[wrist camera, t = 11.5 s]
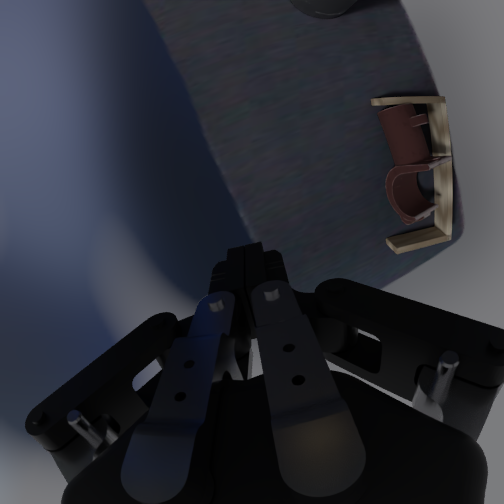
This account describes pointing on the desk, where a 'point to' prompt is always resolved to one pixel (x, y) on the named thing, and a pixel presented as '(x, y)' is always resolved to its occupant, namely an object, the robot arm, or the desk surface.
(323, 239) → the desk surface
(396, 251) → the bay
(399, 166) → the bracket
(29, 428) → the robot arm
